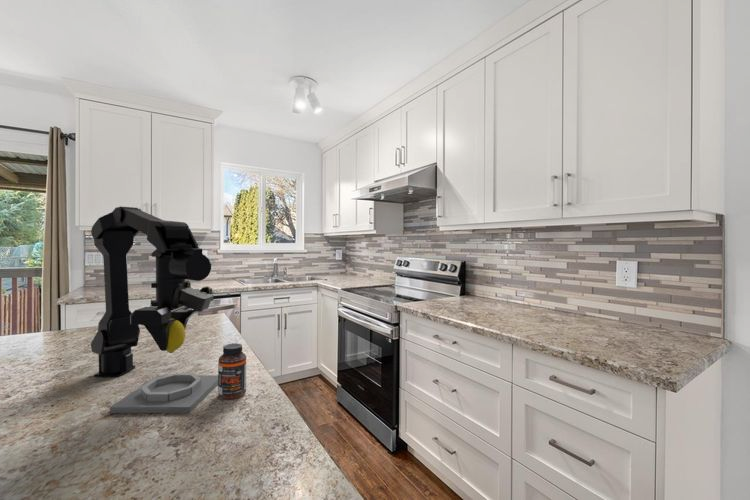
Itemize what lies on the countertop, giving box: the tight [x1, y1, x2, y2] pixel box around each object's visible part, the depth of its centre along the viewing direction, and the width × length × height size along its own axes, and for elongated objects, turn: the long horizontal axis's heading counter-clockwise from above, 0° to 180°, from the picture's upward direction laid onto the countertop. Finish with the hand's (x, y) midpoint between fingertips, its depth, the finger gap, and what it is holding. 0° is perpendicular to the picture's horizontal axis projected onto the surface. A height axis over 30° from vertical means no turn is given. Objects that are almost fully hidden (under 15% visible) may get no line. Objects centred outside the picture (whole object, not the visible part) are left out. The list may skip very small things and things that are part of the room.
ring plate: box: [109, 372, 218, 414], centre depth 77 cm, size 16×16×3 cm
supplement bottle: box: [217, 342, 247, 401], centre depth 77 cm, size 6×6×11 cm
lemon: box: [165, 318, 186, 354], centre depth 77 cm, size 6×6×8 cm
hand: (171, 346), depth 77 cm, fingers closed on lemon, 5 cm apart
